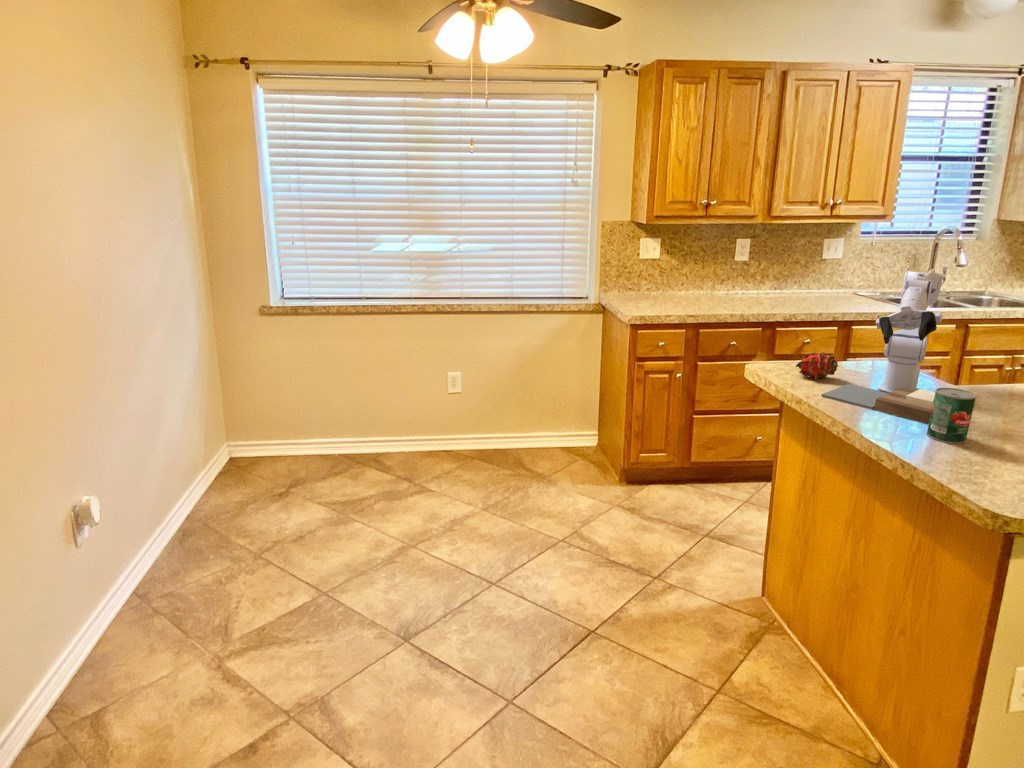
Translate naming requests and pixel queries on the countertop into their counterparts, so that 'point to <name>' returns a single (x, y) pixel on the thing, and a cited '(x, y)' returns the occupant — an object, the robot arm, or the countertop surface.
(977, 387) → the countertop surface
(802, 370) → the dragon fruit
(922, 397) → the cream rectangular slab
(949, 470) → the countertop surface
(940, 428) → the canned tomato
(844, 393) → the mat
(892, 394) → the brown wooden slab
